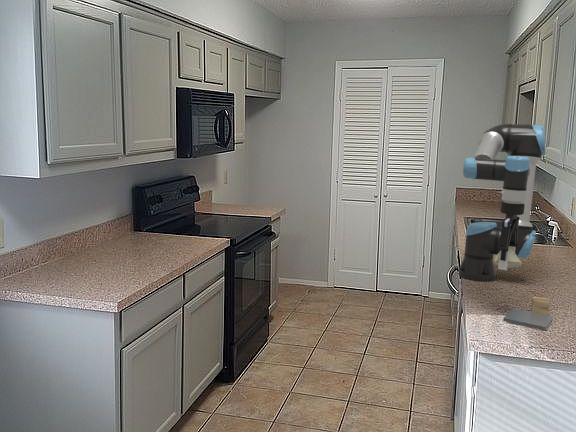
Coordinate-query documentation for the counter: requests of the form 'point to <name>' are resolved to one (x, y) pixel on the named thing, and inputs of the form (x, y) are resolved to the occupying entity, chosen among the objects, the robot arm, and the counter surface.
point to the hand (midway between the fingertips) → (505, 266)
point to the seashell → (510, 259)
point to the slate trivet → (528, 319)
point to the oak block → (540, 305)
